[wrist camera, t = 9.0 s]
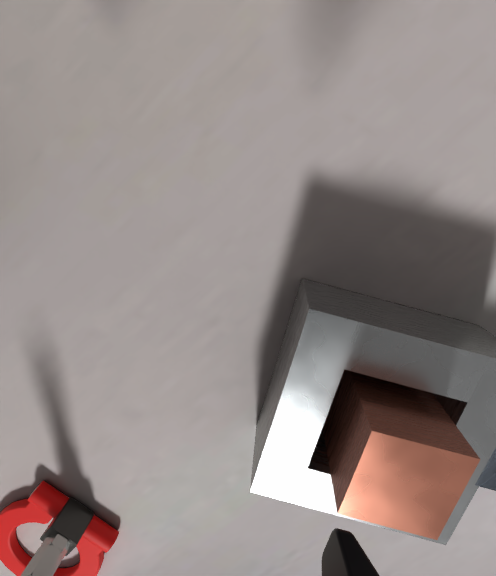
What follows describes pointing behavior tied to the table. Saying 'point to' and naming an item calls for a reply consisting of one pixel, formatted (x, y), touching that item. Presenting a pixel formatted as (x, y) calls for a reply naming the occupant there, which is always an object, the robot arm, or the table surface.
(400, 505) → the square peg
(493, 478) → the square frame with handle
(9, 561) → the tow hook
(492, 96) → the table surface
